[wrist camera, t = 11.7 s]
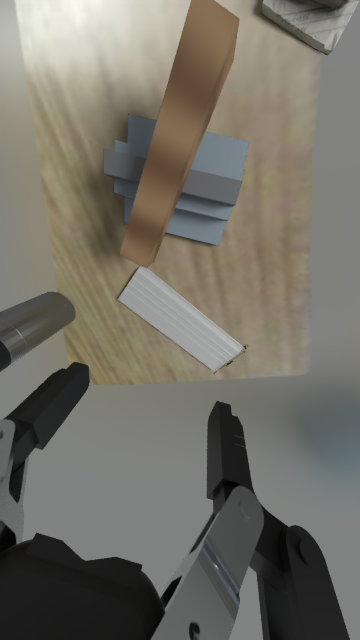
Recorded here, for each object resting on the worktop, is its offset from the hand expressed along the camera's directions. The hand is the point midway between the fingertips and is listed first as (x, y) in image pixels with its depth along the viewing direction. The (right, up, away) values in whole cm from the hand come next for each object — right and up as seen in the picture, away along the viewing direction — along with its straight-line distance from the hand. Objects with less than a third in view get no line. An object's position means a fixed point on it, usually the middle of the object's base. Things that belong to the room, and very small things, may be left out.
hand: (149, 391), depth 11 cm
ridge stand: (+2, +27, +20) cm, 33 cm away
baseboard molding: (+3, +4, +33) cm, 33 cm away
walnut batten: (+1, +23, +12) cm, 26 cm away
